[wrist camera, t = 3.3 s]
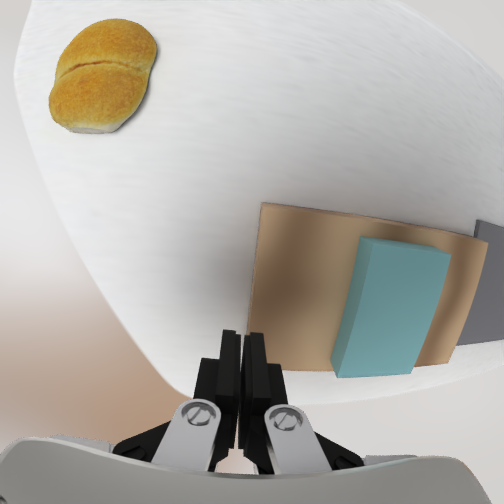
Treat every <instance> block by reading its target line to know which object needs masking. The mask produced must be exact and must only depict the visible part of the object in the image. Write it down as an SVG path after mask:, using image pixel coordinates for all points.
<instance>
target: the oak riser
mask: <svg viewBox="0 0 504 504" xmlns="http://www.w3.org/2000/svg"><path fill="white" fill-rule="evenodd" d="M360 236H363V237H371V238H378V239H385V240H392V241H399V242H406V243H413V244H420V245H426V246H433V247H436V248H438V249H440V250H442V251H445V252H447V253H449V254H451V259H450V263H449V267H448V270H447V274H446V278H445V281H444V285H443V288H442V292H441V295H440V298H439V301H438V305H437V308H436V311H435V314H434V316H433V319H432V322H431V325H430V328H429V330H428V333H427V336H426V338H425V341H424V343H423V346H422V348H421V351H420V353H419V355H418V358H417V360H416V362H415V365H414V367H421V366H430V365H438V364H445V363H448V362H449V360H450V357H451V355H452V353H453V351H454V349H455V346H456V344H457V342H458V339H459V337H460V334H461V332H462V329H463V327H464V324H465V321H466V319H467V316H468V313H469V310H470V308H471V305H472V302H473V299H474V296H475V292H476V289H477V286H478V283H479V279H480V276H481V272H482V268H483V264H484V260H485V256H486V252H487V248H488V243H487V242H485V241H482V240H479V239H477V238H474V237H472V236H468V235H464V234H459V233H454V232H449V231H444V230H439V229H434V228H429V227H424V226H419V225H413V224H408V223H402V222H397V221H391V220H385V219H379V218H373V217H367V216H360V215H354V214H347V213H340V212H333V211H326V210H319V209H312V208H304V207H296V206H288V205H280V204H271V203H261V212H260V221H259V230H258V238H257V247H256V256H255V265H254V273H253V282H252V291H251V299H250V308H249V316H248V325H247V333H246V335H250V332H258V333H263V334H264V342H265V350H266V358H267V363H276V364H281V368H282V370H290V371H334V369H333V366H332V364H331V361H330V360H331V356H332V353H333V349H334V346H335V342H336V339H337V335H338V332H339V328H340V324H341V320H342V316H343V313H344V309H345V305H346V300H347V296H348V292H349V288H350V283H351V279H352V274H353V269H354V265H355V260H356V255H357V250H358V244H359V239H360Z"/></svg>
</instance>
